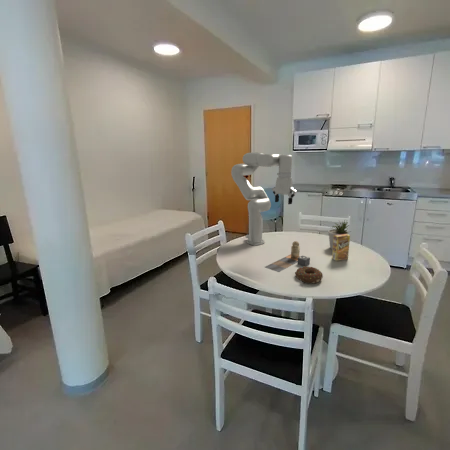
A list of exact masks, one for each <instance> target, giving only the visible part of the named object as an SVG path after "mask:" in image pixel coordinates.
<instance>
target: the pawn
mask: <svg viewBox="0 0 450 450" xmlns="http://www.w3.org/2000/svg"><path fill="white" fill-rule="evenodd" d="M290 247H291V248H290V251H291V252H290V254H291V258H292V259H298V258H299V256H300V250H301V246H300V243H299V241H296V240H295V241H293V242H292V245H291V246H290Z"/></svg>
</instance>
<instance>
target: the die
mask: <svg viewBox="0 0 450 450" xmlns="http://www.w3.org/2000/svg"><path fill="white" fill-rule="evenodd" d="M310 261H311V257H309V256H305V255H301V256H300V257H299V258H298V262H297V265H299V266H301V267H308V266H309V265H310V264H311V263H310Z"/></svg>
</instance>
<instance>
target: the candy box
mask: <svg viewBox="0 0 450 450" xmlns="http://www.w3.org/2000/svg"><path fill="white" fill-rule="evenodd" d="M350 238H351V235H350V234H340V235H334V239H333V249H332V254H331V255H332V256H331V259H332V260H334V261H344V260H349V251H350V242H351V241H350V240H351V239H350Z"/></svg>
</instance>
